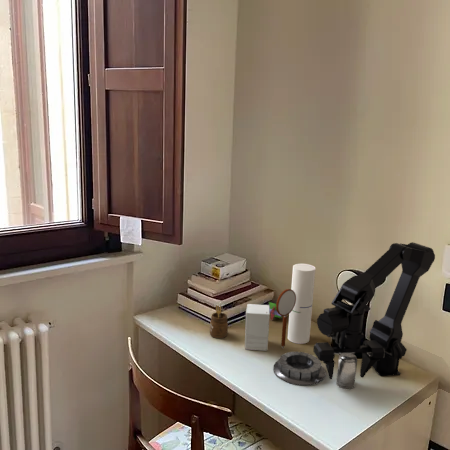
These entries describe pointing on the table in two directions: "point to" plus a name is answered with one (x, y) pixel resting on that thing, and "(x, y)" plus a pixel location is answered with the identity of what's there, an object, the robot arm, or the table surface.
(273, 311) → the geometric puzzle
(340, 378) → the cylinder
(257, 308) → the supplement box
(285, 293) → the magnifying glass
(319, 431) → the table surface
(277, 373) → the ring collar
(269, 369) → the table surface
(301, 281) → the cylindrical container
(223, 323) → the utensil holder
